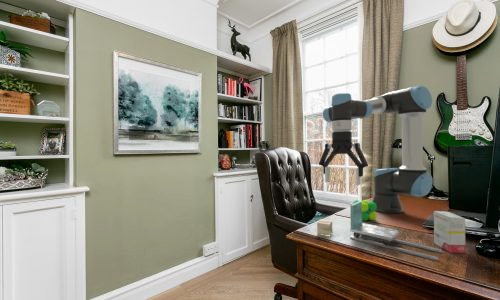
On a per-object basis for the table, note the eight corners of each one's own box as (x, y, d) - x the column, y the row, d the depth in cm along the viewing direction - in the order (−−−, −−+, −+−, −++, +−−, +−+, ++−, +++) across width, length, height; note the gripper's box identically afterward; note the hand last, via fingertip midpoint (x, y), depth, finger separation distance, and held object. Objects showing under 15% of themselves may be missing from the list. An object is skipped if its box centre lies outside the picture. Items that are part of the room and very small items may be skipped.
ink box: (466, 253, 77) (466, 217, 77) (450, 253, 78) (449, 217, 78) (448, 243, 86) (447, 210, 86) (433, 242, 86) (433, 210, 86)
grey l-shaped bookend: (360, 230, 98) (359, 200, 98) (398, 238, 88) (398, 206, 88) (350, 236, 91) (349, 205, 91) (391, 247, 81) (391, 211, 81)
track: (358, 232, 98) (358, 230, 98) (441, 251, 79) (441, 249, 79) (349, 238, 92) (349, 236, 92) (437, 261, 73) (437, 258, 73)
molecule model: (366, 215, 121) (351, 217, 119) (366, 198, 121) (351, 199, 119) (379, 221, 112) (362, 222, 111) (378, 202, 112) (362, 203, 111)
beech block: (320, 230, 101) (320, 219, 101) (332, 232, 98) (332, 220, 98) (317, 234, 96) (317, 222, 96) (330, 236, 94) (329, 224, 94)
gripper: (310, 132, 103) (311, 181, 104) (370, 129, 86) (370, 187, 87) (318, 133, 109) (319, 179, 109) (376, 129, 92) (377, 185, 92)
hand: (342, 183), depth 98 cm, fingers open, 12 cm apart
